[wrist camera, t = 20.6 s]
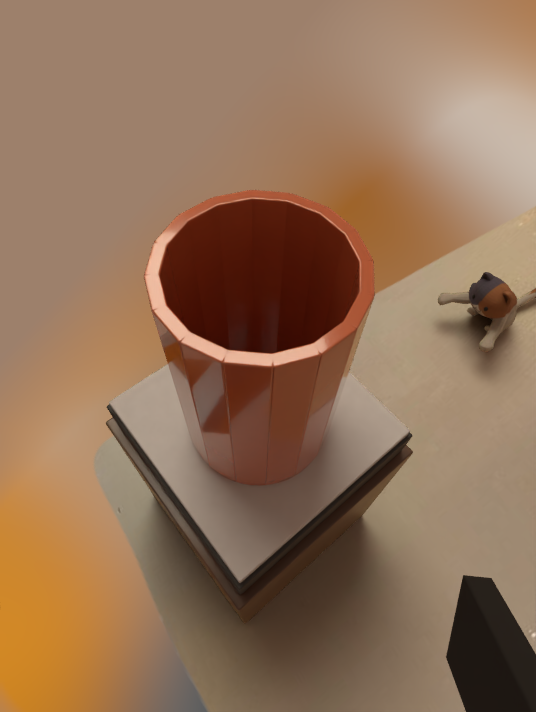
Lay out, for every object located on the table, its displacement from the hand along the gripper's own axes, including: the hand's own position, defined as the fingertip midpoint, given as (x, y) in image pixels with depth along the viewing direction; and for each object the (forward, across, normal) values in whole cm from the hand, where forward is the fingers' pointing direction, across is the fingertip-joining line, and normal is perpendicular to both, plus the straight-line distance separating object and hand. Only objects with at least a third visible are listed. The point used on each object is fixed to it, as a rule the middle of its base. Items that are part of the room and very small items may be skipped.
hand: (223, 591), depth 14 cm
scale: (+15, 0, -2) cm, 15 cm away
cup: (+13, 0, 0) cm, 13 cm away
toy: (+43, +25, +3) cm, 50 cm away
